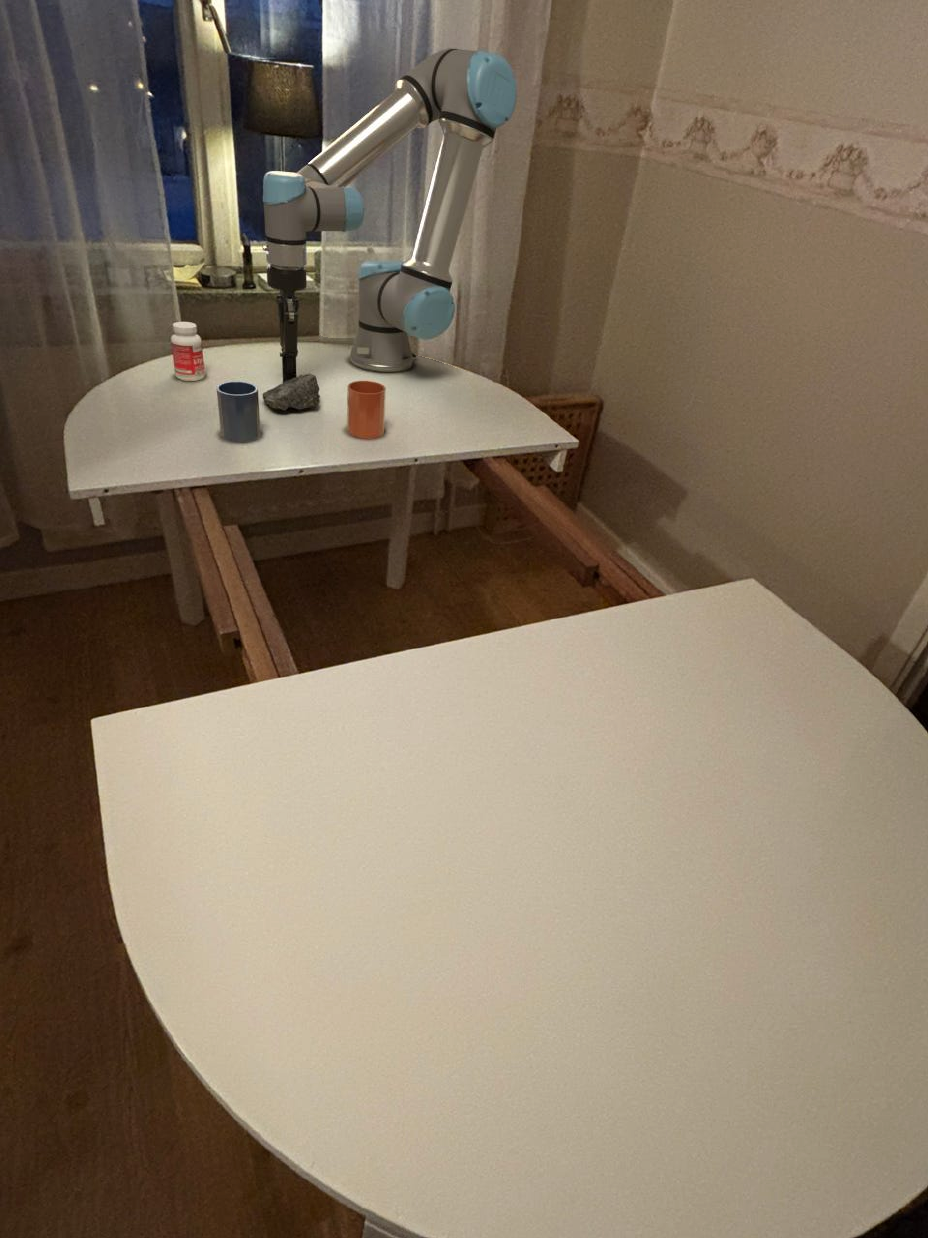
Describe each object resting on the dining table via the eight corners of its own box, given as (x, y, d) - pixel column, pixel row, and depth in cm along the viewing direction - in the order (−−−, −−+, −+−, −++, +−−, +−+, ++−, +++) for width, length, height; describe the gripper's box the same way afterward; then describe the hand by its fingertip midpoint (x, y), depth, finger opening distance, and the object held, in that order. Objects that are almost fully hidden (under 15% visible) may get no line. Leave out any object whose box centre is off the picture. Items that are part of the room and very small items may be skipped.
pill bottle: (199, 383, 159) (194, 330, 152) (171, 379, 159) (164, 326, 152) (209, 373, 164) (204, 322, 157) (181, 370, 164) (175, 318, 157)
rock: (260, 401, 154) (258, 373, 151) (311, 396, 159) (310, 368, 155) (272, 418, 148) (270, 389, 145) (325, 412, 153) (325, 385, 149)
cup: (258, 426, 144) (255, 381, 138) (262, 441, 138) (259, 394, 133) (219, 427, 141) (215, 381, 136) (222, 443, 136) (217, 395, 131)
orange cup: (379, 424, 151) (380, 380, 146) (387, 438, 146) (389, 393, 140) (344, 424, 149) (344, 380, 144) (351, 439, 144) (351, 394, 138)
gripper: (263, 256, 146) (268, 375, 160) (269, 272, 136) (275, 397, 150) (301, 258, 148) (303, 375, 162) (311, 274, 139) (312, 397, 153)
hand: (289, 385), depth 156 cm, fingers closed
